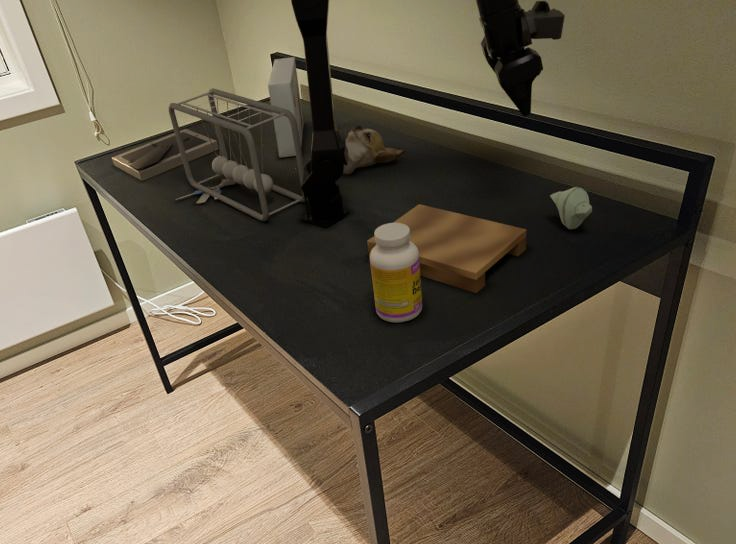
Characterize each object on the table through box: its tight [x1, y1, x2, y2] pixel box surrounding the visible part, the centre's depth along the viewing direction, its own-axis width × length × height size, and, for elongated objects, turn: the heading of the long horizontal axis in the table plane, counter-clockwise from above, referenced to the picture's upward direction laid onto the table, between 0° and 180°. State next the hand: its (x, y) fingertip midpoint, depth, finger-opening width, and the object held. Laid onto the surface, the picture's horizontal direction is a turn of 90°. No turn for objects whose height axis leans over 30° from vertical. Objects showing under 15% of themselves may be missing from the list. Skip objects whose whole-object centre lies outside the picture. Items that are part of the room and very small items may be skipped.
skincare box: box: [267, 56, 304, 159], centre depth 150 cm, size 21×6×16 cm, turn 179°
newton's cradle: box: [168, 88, 305, 222], centre depth 129 cm, size 30×10×18 cm, turn 39°
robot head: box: [549, 186, 593, 230], centre depth 103 cm, size 8×4×7 cm, turn 25°
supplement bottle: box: [369, 222, 423, 323], centre depth 90 cm, size 7×7×13 cm
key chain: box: [175, 178, 237, 204], centre depth 137 cm, size 14×8×1 cm, turn 126°
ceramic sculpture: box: [343, 125, 407, 175], centre depth 134 cm, size 11×9×15 cm
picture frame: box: [111, 128, 220, 182], centre depth 158 cm, size 16×3×21 cm
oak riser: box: [366, 203, 527, 294], centre depth 103 cm, size 20×14×4 cm
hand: (521, 105), depth 107 cm, fingers open, 9 cm apart
